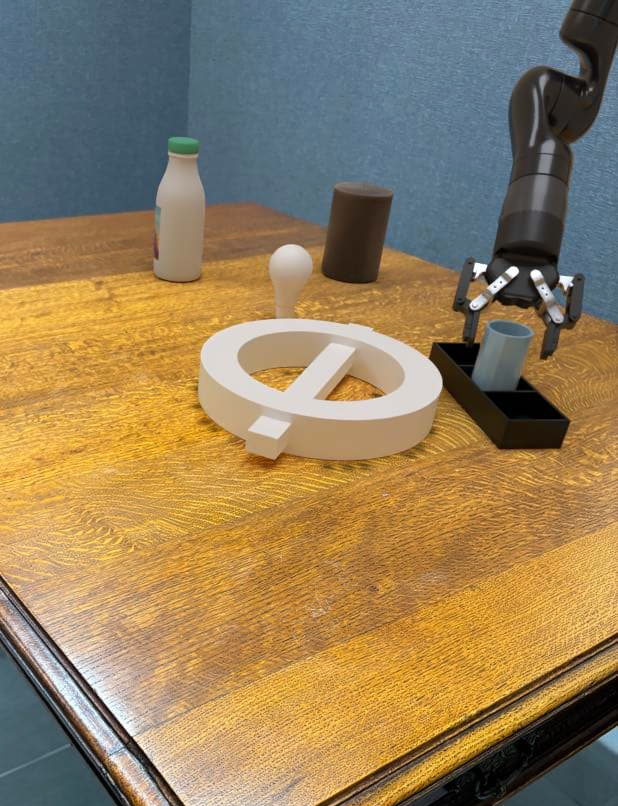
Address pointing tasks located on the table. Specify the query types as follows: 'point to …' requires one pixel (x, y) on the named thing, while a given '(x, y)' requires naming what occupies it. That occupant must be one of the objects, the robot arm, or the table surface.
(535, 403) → the rack
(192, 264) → the milk bottle
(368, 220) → the pillar candle
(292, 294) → the lightbulb
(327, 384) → the ring with crossbar
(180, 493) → the table surface
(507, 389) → the cup
